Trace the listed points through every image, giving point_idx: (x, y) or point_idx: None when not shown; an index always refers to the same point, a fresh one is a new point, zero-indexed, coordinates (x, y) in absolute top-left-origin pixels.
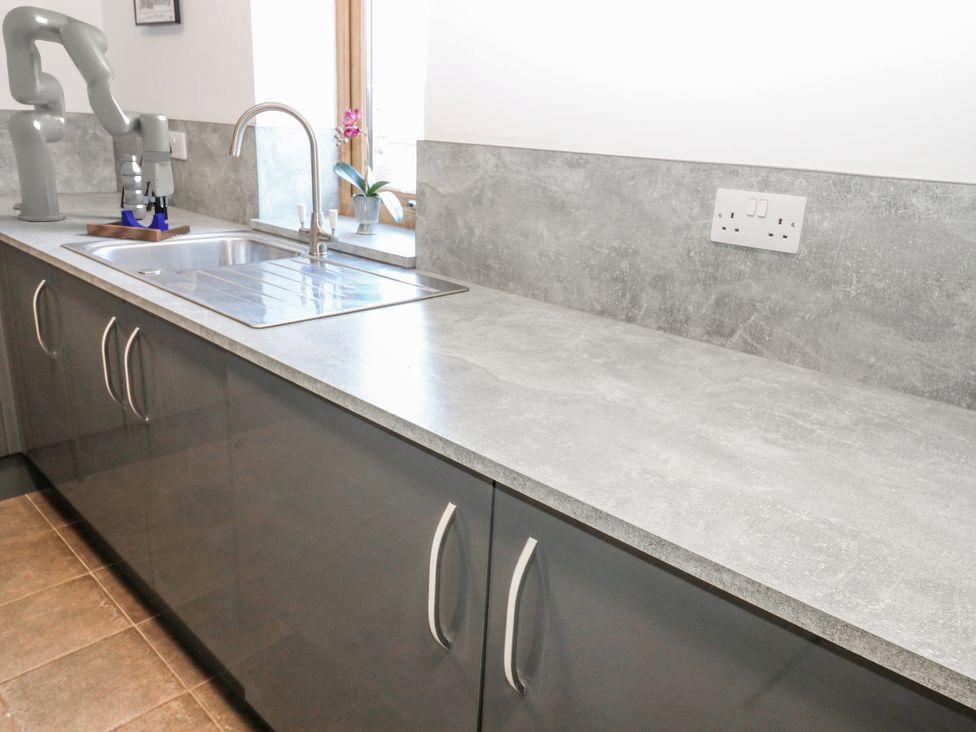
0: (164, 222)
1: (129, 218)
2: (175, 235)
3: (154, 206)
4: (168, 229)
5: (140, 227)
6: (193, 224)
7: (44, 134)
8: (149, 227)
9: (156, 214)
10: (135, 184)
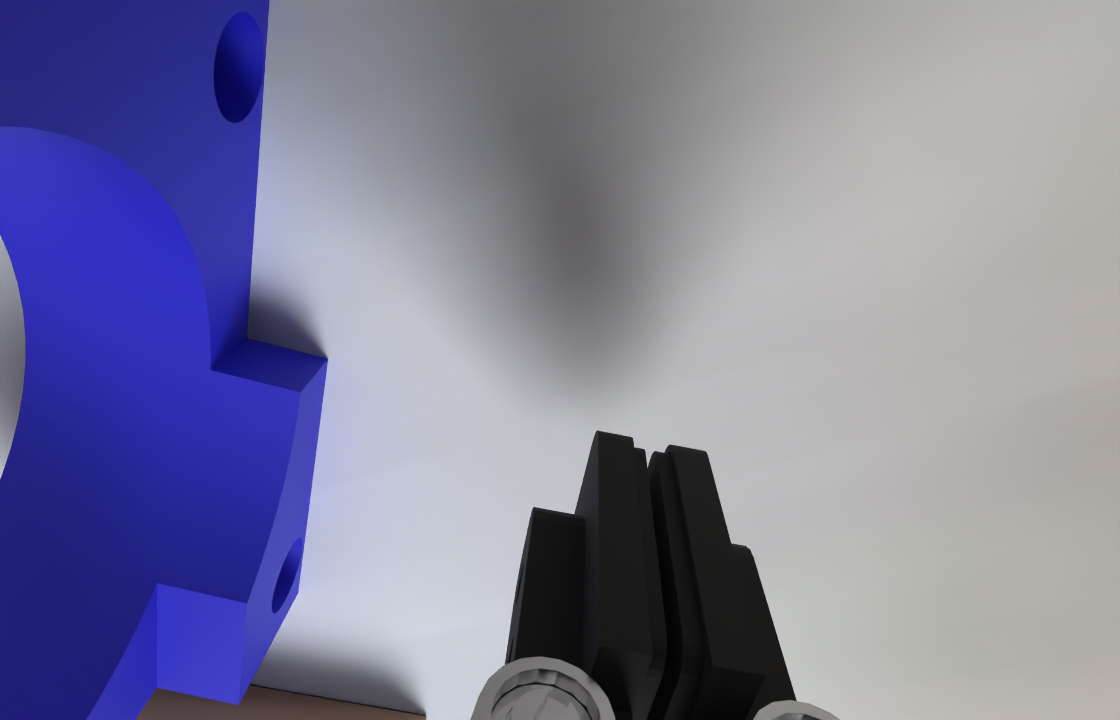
0: (130, 709)
1: None
2: None
3: (504, 686)
4: (274, 629)
5: (94, 293)
6: (1095, 667)
7: None
8: (12, 489)
9: None
10: None
